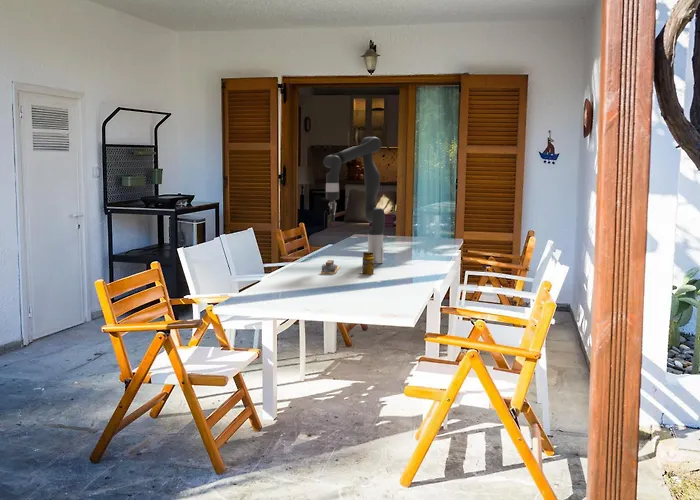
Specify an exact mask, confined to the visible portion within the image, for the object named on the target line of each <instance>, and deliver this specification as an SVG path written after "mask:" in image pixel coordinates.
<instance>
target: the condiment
mask: <svg viewBox="0 0 700 500" xmlns="http://www.w3.org/2000/svg"><path fill="white" fill-rule="evenodd" d="M362 253H363V255H362V272H360V273H359V272H357V273H356V274H358V275H360V276H372V275H375V273H374V271H375V269H374V268H375V267H374V266H375V265H374V264H375V263H374V258H373V252H368V251H365V252H362Z"/></svg>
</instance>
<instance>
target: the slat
mask: <svg viewBox="0 0 700 500" xmlns="http://www.w3.org/2000/svg"><path fill="white" fill-rule="evenodd" d="M334 262H335V261H334V259H328V260H327V261H326V262H325V265H334V264H335V263H334Z"/></svg>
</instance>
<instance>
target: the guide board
mask: <svg viewBox="0 0 700 500" xmlns="http://www.w3.org/2000/svg"><path fill="white" fill-rule="evenodd" d="M340 269H341V266H340V265H337V264H335V263H334V265H326V263H325V264H324V263H323V264H322V265H321V271H320V274H321V275H322V274H323V275H324V274H325V275H336V273H338V271H339V270H340Z"/></svg>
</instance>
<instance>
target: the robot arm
mask: <svg viewBox="0 0 700 500" xmlns="http://www.w3.org/2000/svg"><path fill="white" fill-rule="evenodd" d="M381 148H382V141H381V139H380V138H379V137H376V136H366V137H363V138H362V140H361V141H360V145H355V146H352V147H348V148H346V149H344V150H342V151H341V150H340V151H339V152H336V153H335V152H334V153H332V154H329V155H325V157H324V159H323V161H322V162H323V165H324V167H326V168H328V169H330V170H329V172H327V173H326V175H325V176H326V177H325V178H326V179H325V182H326V183H325V199H326V200H328V201H329V202H328V209H329V215H330V222H335V219H336V218H335V217H336V216H335V215H336V210H337V202H336V201H337V200H339V199H340V183H339V179H340V178H339V176H340V172H341V168H342V164H345V163H346V164H347V163H348V162H351V161H352V160H353V161H354V160H355V159H357V158H360V157H362V163H363V177H364V191H365V193H364V194H365V206H364V207H365V209H364V210H365V211H364V214H365V215H364V216H365V219H366V221H367V222H368V223H372V226H371V228H369V229H367V252H373V258H374V264H384V231H385V228H386V227H385V225H386V214H385V213H386V212H385V210H384V209H383V208H381V207H377V203H376V202H377V201H376V200H377V196H378V193H379V191H380V187H381V178H380V177H381V176H380V172H379V170H378V168H377V166H376V164H375V162H374V157H373V154H374V153H377V152H379V151H380V150H381Z"/></svg>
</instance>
